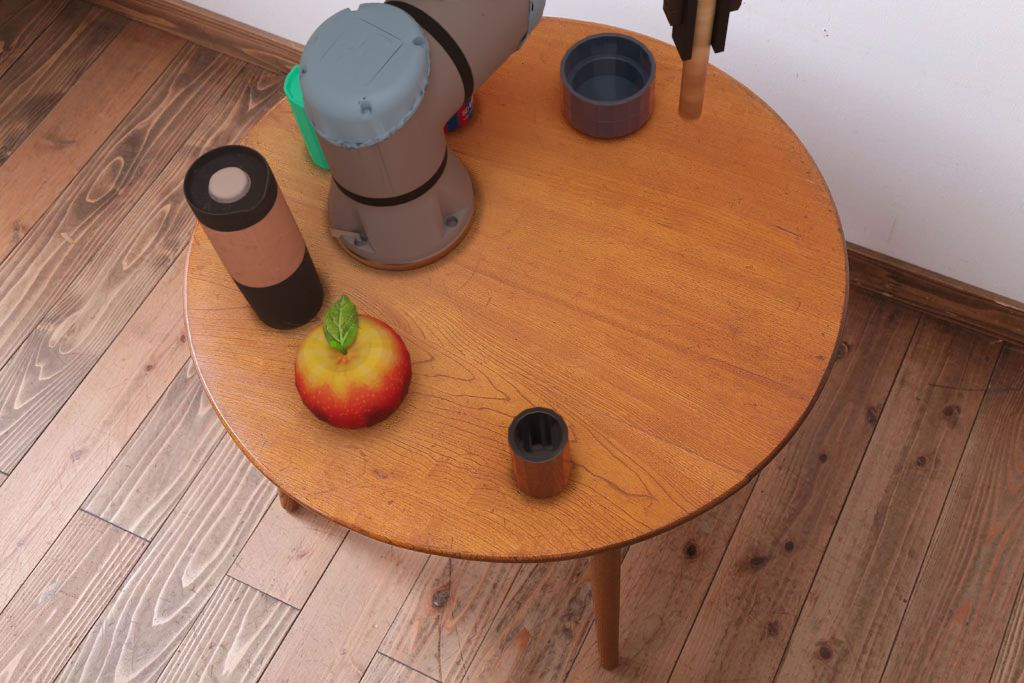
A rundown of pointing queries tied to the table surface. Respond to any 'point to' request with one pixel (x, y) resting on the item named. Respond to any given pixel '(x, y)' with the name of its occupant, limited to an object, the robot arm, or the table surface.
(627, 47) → the bowl
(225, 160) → the travel mug
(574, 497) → the table surface
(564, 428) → the holder
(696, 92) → the stick
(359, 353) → the fruit
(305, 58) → the robot arm
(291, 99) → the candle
